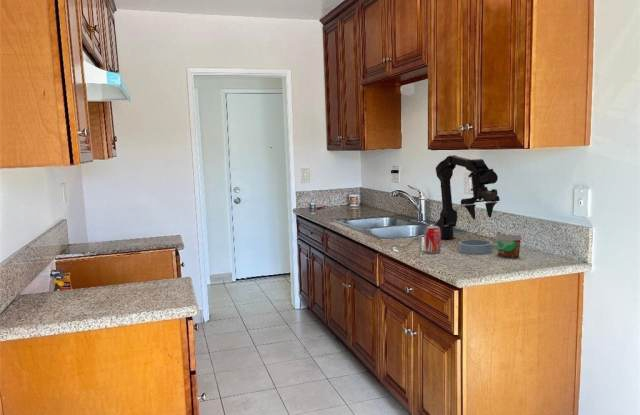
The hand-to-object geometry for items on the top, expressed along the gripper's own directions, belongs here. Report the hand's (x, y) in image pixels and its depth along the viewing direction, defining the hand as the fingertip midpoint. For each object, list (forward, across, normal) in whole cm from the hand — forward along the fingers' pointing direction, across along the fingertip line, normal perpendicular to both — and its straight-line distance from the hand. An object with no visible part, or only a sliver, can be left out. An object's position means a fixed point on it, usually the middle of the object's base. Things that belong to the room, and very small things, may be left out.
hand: (482, 218), depth 233 cm
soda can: (+14, -25, +6) cm, 29 cm away
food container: (+17, -4, -18) cm, 25 cm away
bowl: (+15, -8, -2) cm, 17 cm away
